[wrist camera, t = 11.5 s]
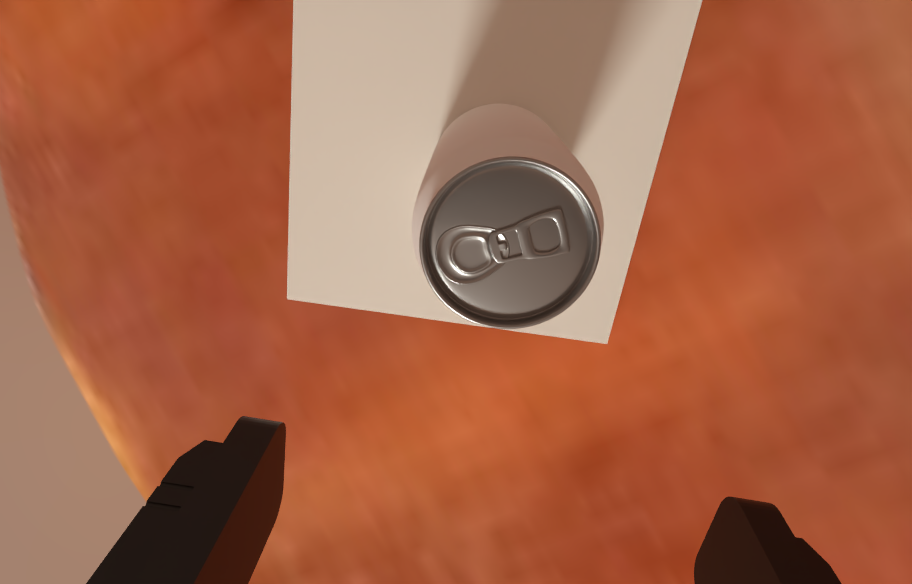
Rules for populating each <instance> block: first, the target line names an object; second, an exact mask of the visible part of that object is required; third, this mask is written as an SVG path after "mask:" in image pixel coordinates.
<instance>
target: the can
mask: <svg viewBox="0 0 912 584" xmlns="http://www.w3.org/2000/svg"><path fill="white" fill-rule="evenodd" d="M603 233H604V218H603V210H602V205H601V202H600V198H599V195H598V192H597V190H596V187H595V185H594V183H593V181H592V180H591V178H590V176H589V175H588V173H587V172H586V170H585V169H584V167H583V166H582V165H581V163H580V162H579V161H578V160H577V158H576V157H575V156H574V155H573V154H572V152H571V151H570V150H569V149H568V148H567V146H566V145H565V144H564V143H563V142H562V141H561V139H560V138H559V137H558V136H557V135H556V134H555V133H554V131H553V130H552V129H551V128H550V127H549V126H548V125H547V124H546V123H545V122H544V121H543V120H542V119H541V118H539V117H538V116H537V115H535V114H534V113H532V112H530V111H528V110H526V109H524V108H521V107H518V106H515V105H510V104H500V103H499V104H487V105H483V106H479V107H476V108H474V109H471V110H469V111H467V112H466V113H464V114H462V115H461V116H459V117H458V118H457V119H456V120H454V121H453V122H452V123H451V124H450V125H449V126H448V128H447V129H446V130H445V131H444V133H443V134H442V136H441V138H440V139H439V141H438V143H437V145H436V148H435V150H434V152H433V155H432V157H431V160H430V162H429V165H428V168H427V170H426V173H425V175H424V178H423V181H422V184H421V186H420V189H419V192H418V195H417V198H416V202H415V206H414V210H413V217H412V240H413V247H414V251H415V255H416V258H417V261H418V263H419V266H420V268H421V270H422V272H423V274H424V275H425V277H426V279H427V281H428V283H429V285H430V286H431V288H432V290H433V291H434V293H435V294H436V295H437V296H438V298H439V299H440V300H441V301H442V302H443V303H444V304H445V305H446V306H447V307H448V308H449V309H451V310H452V311H453V312H455V313H456V314H458V315H459V316H461V317H463V318H464V319H466V320H468V321H471V322H473V323H476V324H479V325H482V326H486V327H490V328H497V329H519V328H525V327H530V326H534V325H537V324H540V323H543V322H545V321H548V320H550V319H552V318H554V317H555V316H557V315H559V314H560V313H562V312H563V311H565V310H566V309H567V308H569V307H570V306H571V305H572V304H573V303H574V302H575V301H576V300H577V299H578V298H579V297H580V296H581V295H582V293H583V292H584V291H585V289H586V288H587V286H588V285H589V283H590V281H591V279H592V277H593V275H594V273H595V271H596V268H597V265H598V261H599V257H600V250H601V246H602V241H603Z"/></svg>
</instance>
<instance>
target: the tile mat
mask: <svg viewBox="0 0 912 584" xmlns="http://www.w3.org/2000/svg"><path fill="white" fill-rule="evenodd" d="M701 3H702V0H293V46H292V92H291V137H290V183H289V228H288V274H287V299H290V300H297V301H304V302H311V303H318V304H326V305H333V306H340V307H347V308H354V309H361V310H368V311H375V312H383V313H390V314H397V315H404V316H411V317H418V318H425V319H432V320H440V321H447V322H454V323H461V324H468V325H475V326H482V325H479V324H476V323H473V322H471V321H468V320H466V319H464V318H463V317H461V316H459V315H458V314H456V313H455V312H453V311H452V310H451V309H449V308H448V307H447V306H446V305H445V304H444V303H443V302H442V301H441V300H440V299H439V298H438V296H437V295H436V294H435V293H434V291H433V290H432V288H431V286H430V285H429V283H428V281H427V279H426V277H425V275H424V274H423V272H422V270H421V268H420V266H419V263H418V261H417V258H416V255H415V251H414V247H413V240H412V217H413V210H414V206H415V202H416V198H417V195H418V192H419V189H420V186H421V184H422V181H423V178H424V175H425V173H426V170H427V168H428V165H429V162H430V160H431V157H432V155H433V152H434V150H435V148H436V145H437V143H438V141H439V139H440V138H441V136H442V134H443V133H444V131H445V130H446V129H447V128H448V126H449V125H450V124H451V123H452V122H453V121H454V120H456V119H457V118H458V117H459V116H461V115H462V114H464V113H466V112H467V111H469V110H471V109H474V108H476V107H479V106H483V105H487V104H499V103H500V104H510V105H515V106H518V107H521V108H524V109H526V110H528V111H530V112H532V113H534V114H535V115H537V116H538V117H539V118H541V119H542V120H543V121H544V122H545V123H546V124H547V125H548V126H549V127H550V128H551V129H552V130H553V131H554V133H555V134H556V135H557V136H558V137H559V138H560V139H561V141H562V142H563V143H564V144H565V145H566V146H567V148H568V149H569V150H570V151H571V152H572V154H573V155H574V156H575V157H576V158H577V160H578V161H579V162H580V163H581V165H582V166H583V167H584V169H585V170H586V172H587V173H588V175H589V176H590V178H591V180H592V181H593V183H594V185H595V187H596V190H597V192H598V195H599V198H600V202H601V205H602V210H603V218H604V233H603V241H602V246H601V250H600V257H599V261H598V265H597V268H596V271H595V273H594V275H593V277H592V279H591V281H590V283H589V285H588V286H587V288H586V289H585V291H584V292H583V293H582V295H581V296H580V297H579V298H578V299H577V300H576V301H575V302H574V303H573V304H572V305H571V306H570V307H569V308H567V309H566V310H565V311H563V312H562V313H560V314H559V315H557V316H555V317H554V318H552V319H550V320H548V321H545V322H543V323H540V324H537V325H534V326H530V327H525V328H519V329H504V330H511V331H518V332H525V333H532V334H539V335H546V336H554V337H561V338H568V339H575V340H582V341H589V342H596V343H603V344H607V342H608V339H609V335H610V331H611V328H612V324H613V321H614V317H615V313H616V310H617V306H618V303H619V299H620V295H621V292H622V288H623V285H624V281H625V277H626V274H627V270H628V267H629V263H630V259H631V256H632V252H633V248H634V245H635V241H636V238H637V234H638V230H639V227H640V223H641V220H642V216H643V212H644V209H645V205H646V202H647V198H648V194H649V191H650V187H651V184H652V180H653V176H654V173H655V169H656V166H657V162H658V158H659V155H660V151H661V147H662V144H663V140H664V137H665V133H666V129H667V126H668V122H669V119H670V115H671V111H672V108H673V104H674V101H675V97H676V93H677V90H678V86H679V83H680V79H681V75H682V72H683V68H684V64H685V61H686V57H687V54H688V50H689V46H690V43H691V39H692V36H693V32H694V28H695V25H696V21H697V18H698V14H699V10H700V7H701ZM482 327H486V326H482ZM489 328H490V327H489Z"/></svg>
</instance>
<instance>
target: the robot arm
mask: <svg viewBox="0 0 912 584" xmlns="http://www.w3.org/2000/svg"><path fill="white" fill-rule="evenodd" d="M285 439H286V427H285V424H284V423H283V422H277V421H271V420H265V419H258V418H252V417H246V416H242V417H241V418H240V419H239V420H238V421H237V422H236V424H235V425H234V427H233V429H232V430H231V432H230V433H229V435H228V436H227V438H226V439H225V441H224V442H223V443H219V442H213V441H207V440H204V441H203V442H201V443H200V444H198V445H197V446H195V447H194V448H192V449H191V450H189V451H188V452H187V453H185V454H184V455H182V456H181V457H179V458H178V459H177V461H176V462H175V463H174V465H173V466H172V467H171V469H170V470H169V471H168V473H167V474H166V476H165V477H164V478H163V480H162V481H161V485H160V486H157V488H156V489H155V491H154V492H153V493H152V495H151V496H150V497H149V499H148V500H147V503H146V506H143V507H142V508H141V510H140V511H139V512H138V514H137V515H136V516H135V518H134V519H133V520H132V522H131V523H130V525H129V526H128V527H127V529H126V530H125V532H124V533H123V534H122V535H121V537H120V538H119V540H118V541H117V542H116V544H115V545H114V546H113V548H112V549H111V551H110V552H109V553H108V555H107V556H106V557H105V559H104V560H103V562H102V563H101V564H100V565H99V567H98V568H97V570H96V571H95V572H94V574H93V575H92V576H91V578H90V579H89V580H88V582H87V583H86V584H248V583H249V580H250V578H251V576H252V574H253V571H254V569H255V567H256V565H257V562H258V560H259V558H260V556H261V553H262V551H263V549H264V546H265V544H266V542H267V540H268V537H269V535H270V533H271V531H272V528H273V526H274V524H275V521H276V518H277V515H278V512H279V508H280V504H281V499H282V494H283V483H284V461H285ZM694 581H695V584H841V582H840V581H839V579H838V577H837V576H836V574H835V573H834V571H833V570H832V568H831V566H830V565H829V564H828V563H827V562H826V561H825V560H824V559H823V558H822V557H821V556H820V555H819V554H818V553H817V552H816V551H815V550H814V549H813V548H812V547H811V546H810V545H809V544H808V543H807V542H806V541H804V540H803V539H802V538H796V537H795V536H794V534H793V533H792V531H791V529H790V528H789V526H788V525H787V523H786V521H785V520H784V518H783V516H782V515H781V513H780V511H779V510H778V508H777V507H776V506H775V505H773V504H771V503H766V502H760V501H754V500H748V499H742V498H736V497H726V498H725V499H724V500H723V501H722V502H721V504H720V506H719V508H718V510H717V512H716V514H715V517H714V519H713V521H712V523H711V525H710V528H709V530H708V532H707V534H706V537H705V539H704V541H703V543H702V545H701V548H700V550H699V552H698V554H697V557H696V561H695V567H694Z"/></svg>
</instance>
